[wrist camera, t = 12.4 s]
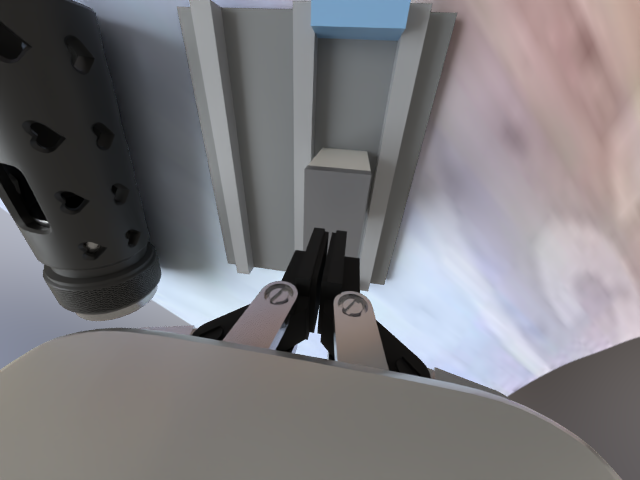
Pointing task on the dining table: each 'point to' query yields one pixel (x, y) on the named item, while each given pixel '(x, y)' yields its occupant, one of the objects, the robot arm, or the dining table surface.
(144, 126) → the dining table surface
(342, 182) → the grey rectangular prism
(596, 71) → the dining table surface
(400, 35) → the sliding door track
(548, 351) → the dining table surface
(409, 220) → the dining table surface
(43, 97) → the muzzle brake
